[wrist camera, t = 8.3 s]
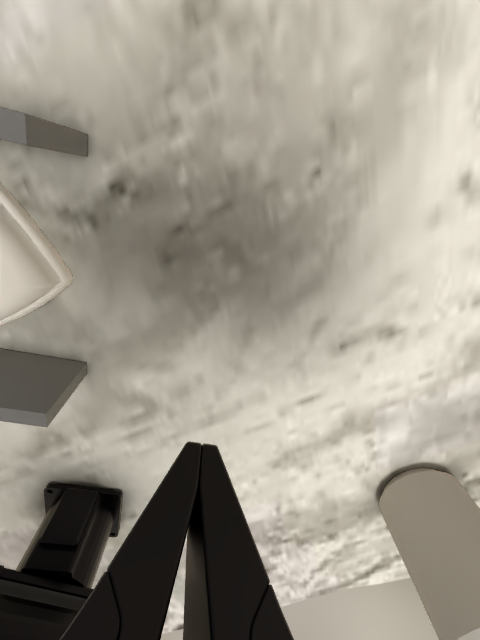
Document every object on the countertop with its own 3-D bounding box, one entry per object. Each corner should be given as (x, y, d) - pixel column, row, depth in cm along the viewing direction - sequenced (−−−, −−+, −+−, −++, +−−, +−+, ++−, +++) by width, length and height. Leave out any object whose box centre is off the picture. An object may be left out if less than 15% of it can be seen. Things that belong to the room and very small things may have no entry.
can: (372, 471, 26) (471, 672, 16) (457, 454, 26) (621, 651, 15) (376, 519, 30) (460, 714, 19) (451, 505, 29) (584, 699, 18)
